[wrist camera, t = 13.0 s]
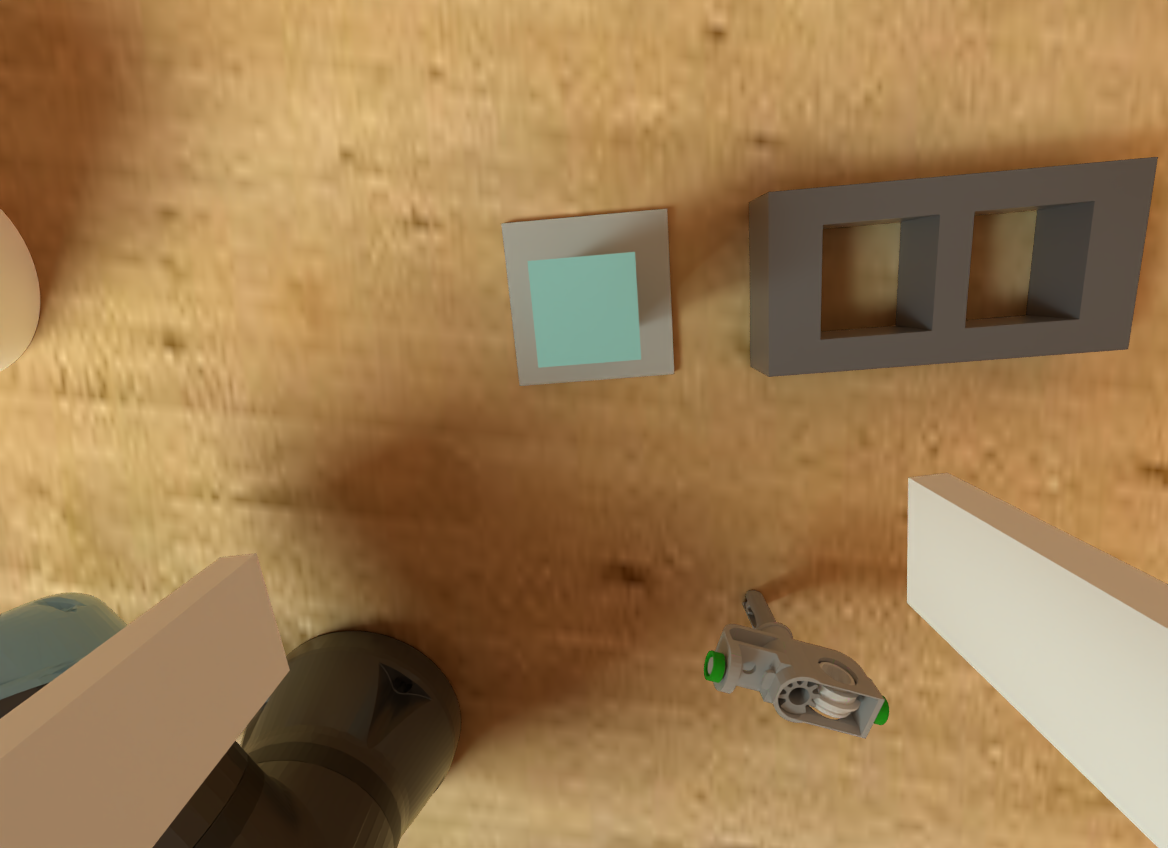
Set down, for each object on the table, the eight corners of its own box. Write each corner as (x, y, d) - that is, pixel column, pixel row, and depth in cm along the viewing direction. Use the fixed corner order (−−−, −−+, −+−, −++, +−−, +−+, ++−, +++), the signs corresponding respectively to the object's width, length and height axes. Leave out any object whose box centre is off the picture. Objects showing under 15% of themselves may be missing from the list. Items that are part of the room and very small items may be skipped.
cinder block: (750, 366, 36) (768, 376, 32) (748, 202, 34) (768, 192, 30) (1069, 341, 35) (1128, 349, 32) (1091, 171, 33) (1158, 156, 29)
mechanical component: (691, 563, 40) (721, 654, 30) (827, 600, 40) (900, 701, 31) (678, 599, 41) (703, 699, 31) (812, 635, 41) (878, 744, 31)
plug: (559, 337, 36) (538, 368, 23) (552, 268, 34) (526, 260, 22) (626, 331, 35) (641, 359, 23) (621, 262, 34) (635, 251, 22)
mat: (520, 384, 37) (519, 386, 36) (503, 224, 34) (501, 223, 34) (673, 372, 36) (674, 373, 36) (665, 209, 34) (667, 208, 33)
